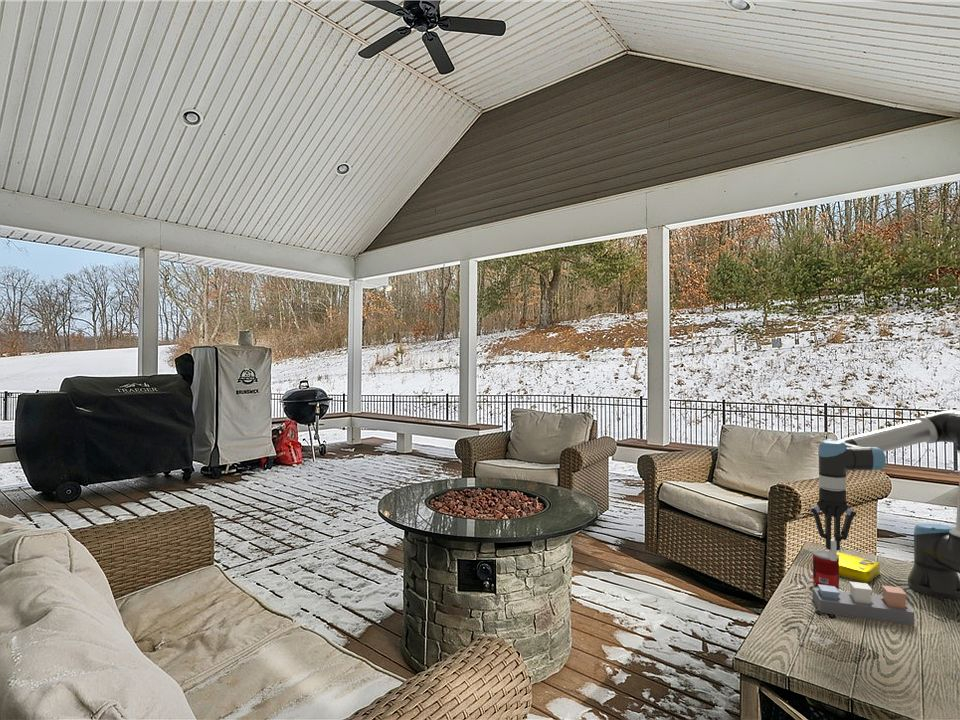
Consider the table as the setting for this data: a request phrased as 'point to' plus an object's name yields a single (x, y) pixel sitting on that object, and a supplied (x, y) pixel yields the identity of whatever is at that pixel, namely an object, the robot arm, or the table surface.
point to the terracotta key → (894, 596)
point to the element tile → (858, 567)
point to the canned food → (825, 569)
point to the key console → (863, 608)
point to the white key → (860, 592)
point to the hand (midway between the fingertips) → (832, 559)
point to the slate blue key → (828, 592)
